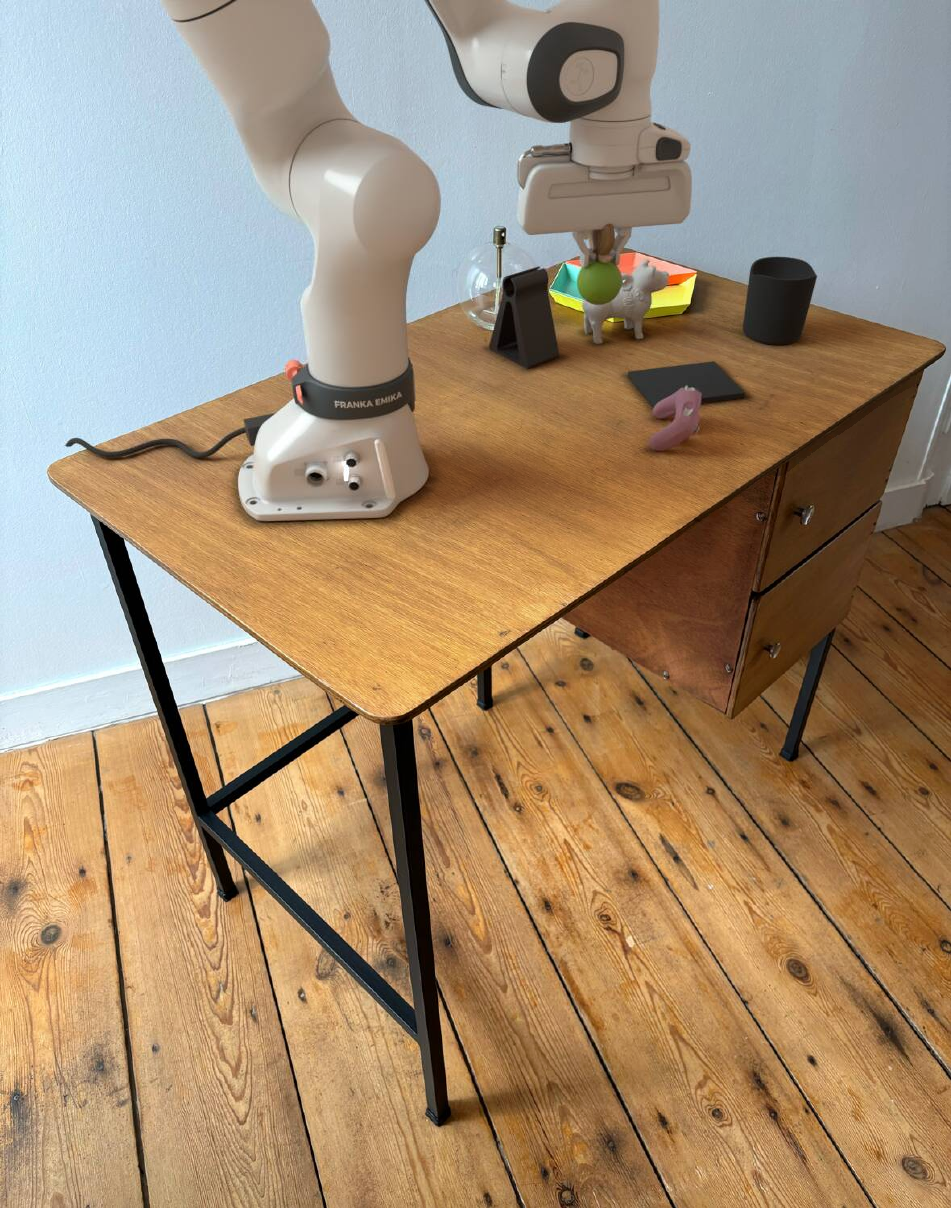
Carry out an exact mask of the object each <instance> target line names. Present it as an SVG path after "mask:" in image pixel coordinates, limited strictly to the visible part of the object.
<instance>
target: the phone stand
mask: <svg viewBox="0 0 951 1208" xmlns="http://www.w3.org/2000/svg"><path fill="white" fill-rule="evenodd" d="M501 284H502V285H501V287H502V295H501V300H500V304H499V307H498V311H497V314H496V318H495V322H494V326H493V329H492V333H491V337H490V341H489V345H488V348H489V349H490V351H493V352H494V353H497V354H499V355H500V356H502V357H504V358H506V359H508V360H510V361H511V362H514V363H515V364H517V365H519V366H521V367H523V368H525V369H530V368H533V367H536V366H539V365H541V364H544V363H546V362H549V361H552V360H555V359H557V358H559V357H560V349H559V345H558V339H557V334H556V329H555V323H554V317H553V311H552V307H551V301H550V296H549V274H548V271H547V270H546V268H545V267H543V268H541V266H539V265H538V266H535V267H532V268H528V269H526V270H522V271H518V272H515V273H513V274H508V275H505V276H504V277H503V278H502V282H501Z"/></svg>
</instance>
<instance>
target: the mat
mask: <svg viewBox="0 0 951 1208" xmlns="http://www.w3.org/2000/svg"><path fill="white" fill-rule="evenodd" d="M627 378H628V379H629V380H630V382H631V383H632V384H633V386H634V387H635V388H636V389H637V390H638V391H639V393H640V394H641V396H643V398H644V399H645V400H646V401H647V403H648V404H649V406H650V407H651V408H652V409H653V408H654V406H655V405H656V404H657V403H658V402H660V401H661V400H663V399H665V398H667V397H669V396H671V395H672V394H674V393H675V392H677V391H678V390H679V389H680V388H685V386H686V385H687V386H688V388H692V387H693V388H695V389H697V390H699V392H701V393H702V396H701V404H707V403H714V402H715V403H716V402H722V401H730V400H736V399H737V400H738V399H745V397H746V391H744V390H743V389H742V387H740V385H739V384H738V383H737V382H735V380H734V379H733V378H732V377H731V376H730V375H729V374H728V373H727V372H726V371H725V370H724V369H722V367H721V366H720V365H719V364H718V363H717V362H716V360H715V361H705V362H696V363H689V364H680V365H671V366H663V367H655V368H654V367H653V368H647V369H638V370H630V371H628V372H627Z"/></svg>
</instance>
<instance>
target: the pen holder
mask: <svg viewBox="0 0 951 1208" xmlns="http://www.w3.org/2000/svg"><path fill="white" fill-rule="evenodd" d="M817 278H818V275H817V273H816V272H815V270H814V268H813V267H812V265H811V264H810V263H809V262H807V261H805V260H803V259H800V258H795V257H788V256H767V257H761V258H759V259H758V258H757V259H756V260H755V261H753V263H751V266H750V269H749V275H748V282H747V283H748V284H747V291H746V297H745V298H746V299H745V307H744V313H743V314H744V315H743V325H742V331H743V334H744V335H745V336H746V337H747V338H748V339H750V340H752V341H754V342H757V343H760V344H764V345H765V344H766V345H770V346H771V345H772V346H774V345H775V346H784V345H790V344H793V343H795V342H797V341H798V340H799V339H800V338H801V337H802V335H803V331H804V328H805V323H806V322H807V321H806V320H807V317H808V313H809V309H810V305H811V302H812V297H813V293H814V290H815V286H816V282H817Z"/></svg>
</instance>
